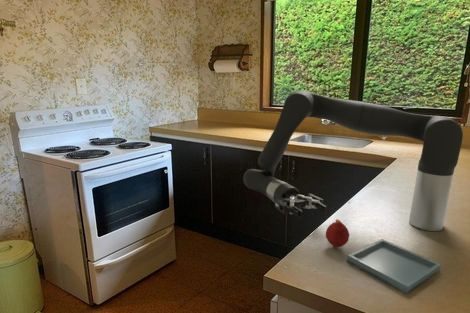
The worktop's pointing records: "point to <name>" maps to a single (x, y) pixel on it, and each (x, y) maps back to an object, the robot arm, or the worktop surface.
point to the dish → (394, 265)
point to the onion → (337, 234)
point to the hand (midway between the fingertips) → (314, 212)
